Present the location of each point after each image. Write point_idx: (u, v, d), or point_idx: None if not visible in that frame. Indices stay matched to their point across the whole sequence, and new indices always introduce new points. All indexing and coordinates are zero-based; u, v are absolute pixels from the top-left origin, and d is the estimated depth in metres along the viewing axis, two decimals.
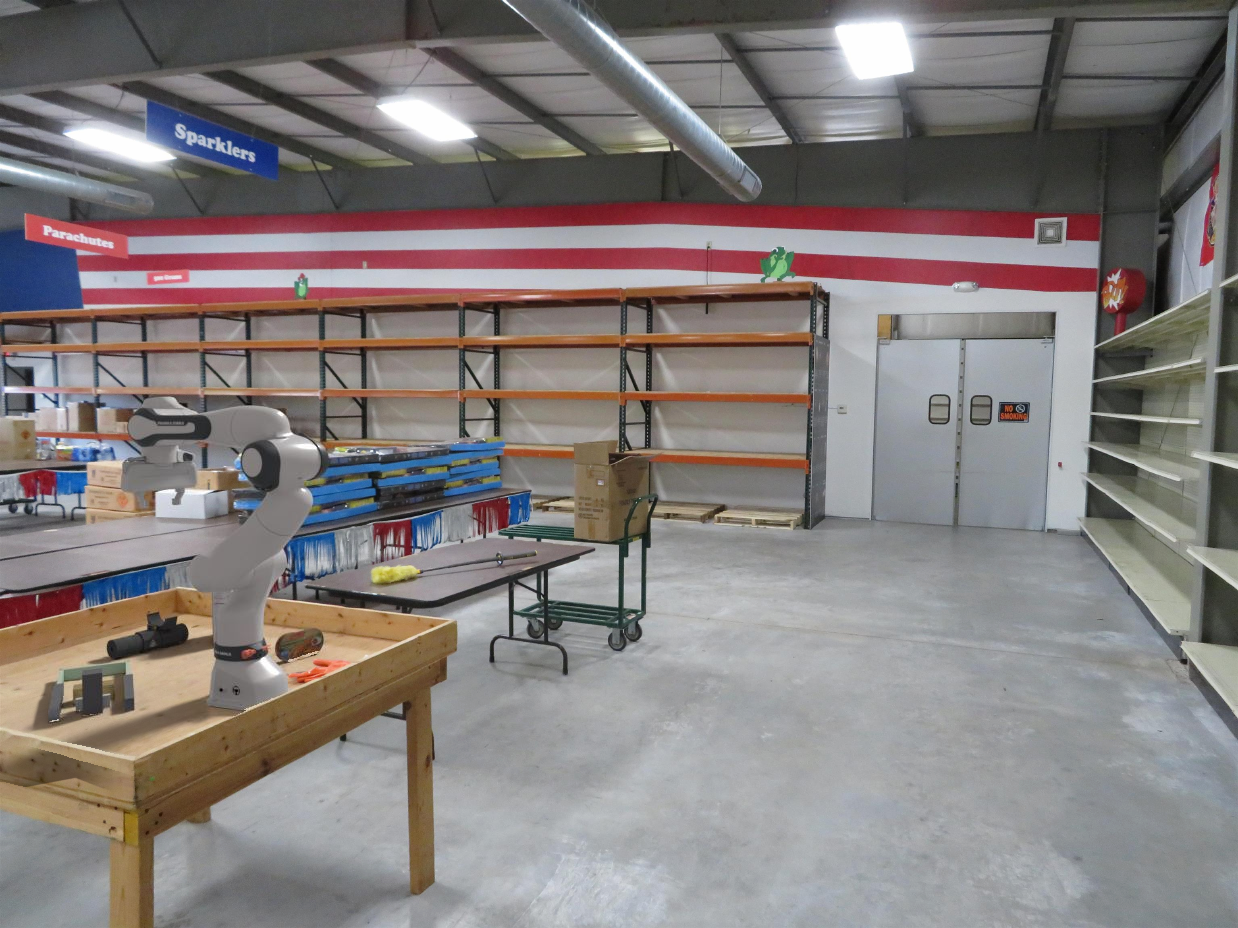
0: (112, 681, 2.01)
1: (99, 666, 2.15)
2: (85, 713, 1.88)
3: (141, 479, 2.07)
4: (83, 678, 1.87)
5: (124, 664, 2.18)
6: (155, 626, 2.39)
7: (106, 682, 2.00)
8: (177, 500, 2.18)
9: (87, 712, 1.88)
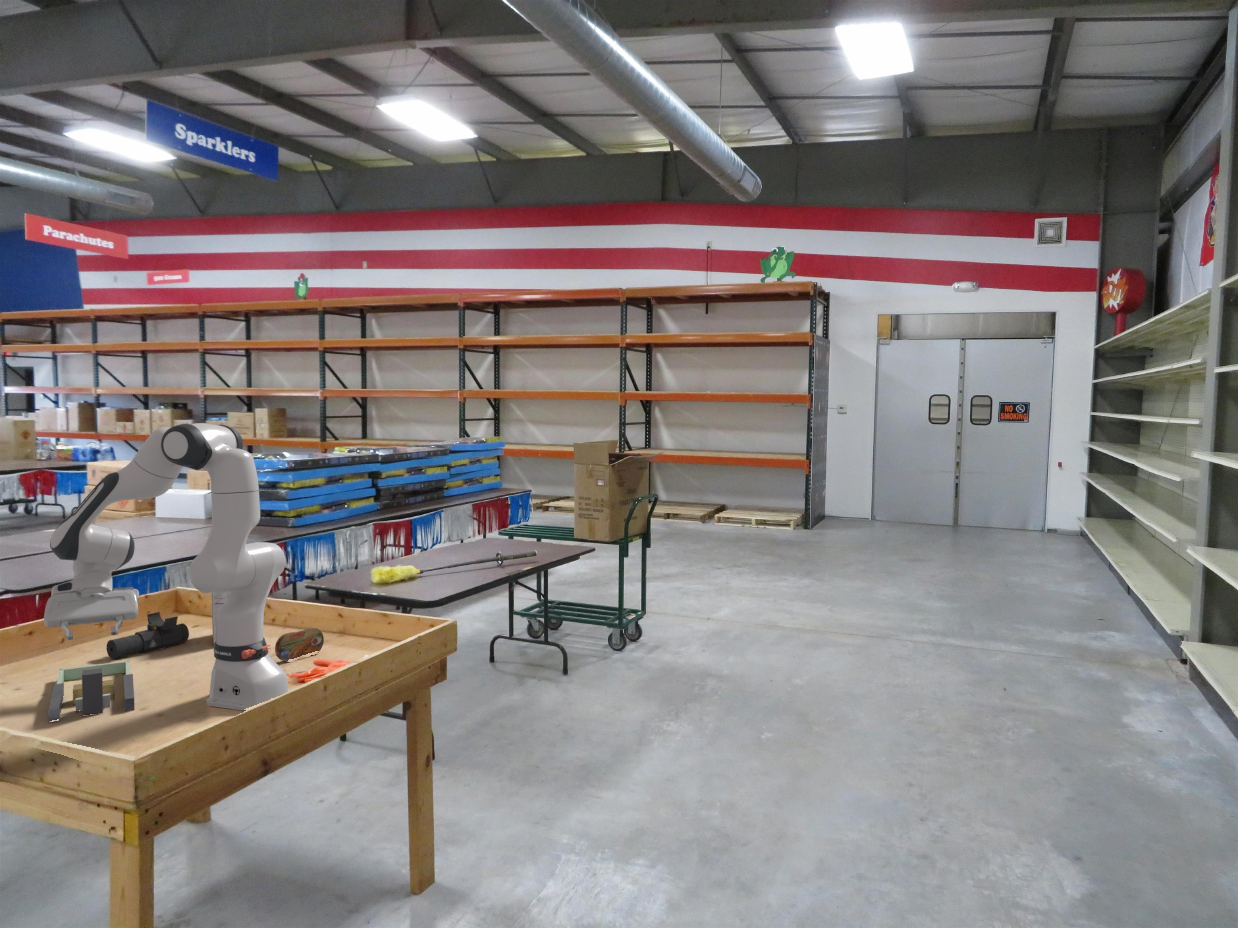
0: (112, 681, 2.01)
1: (99, 666, 2.15)
2: (85, 713, 1.88)
3: None
4: (83, 678, 1.87)
5: (124, 664, 2.18)
6: (155, 626, 2.39)
7: (106, 682, 2.00)
8: None
9: (87, 712, 1.88)
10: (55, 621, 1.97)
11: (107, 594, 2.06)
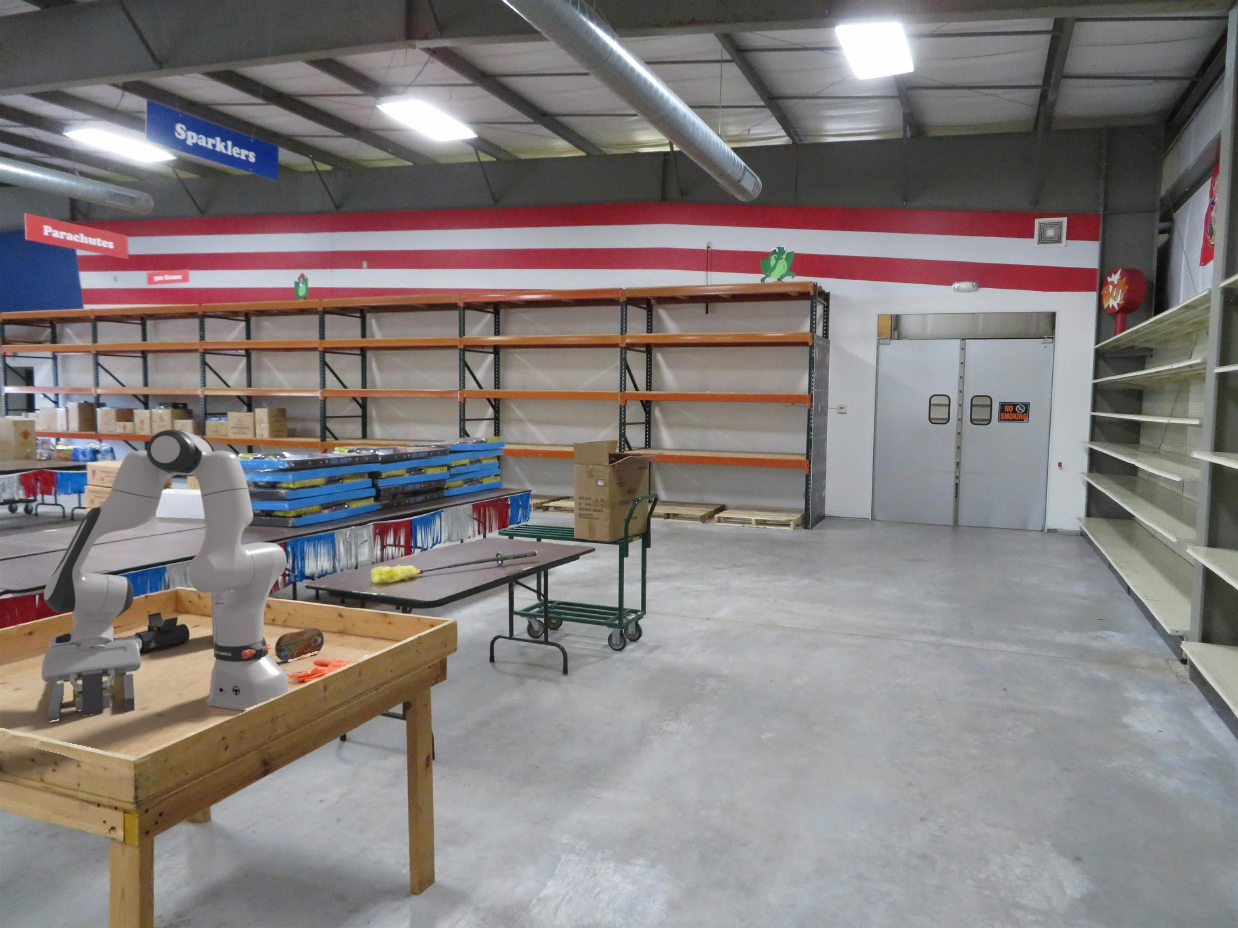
0: (112, 681, 2.01)
1: None
2: (85, 713, 1.88)
3: None
4: (83, 678, 1.87)
5: None
6: (155, 627, 2.38)
7: None
8: None
9: (87, 712, 1.88)
10: (53, 676, 1.87)
11: (108, 645, 1.96)
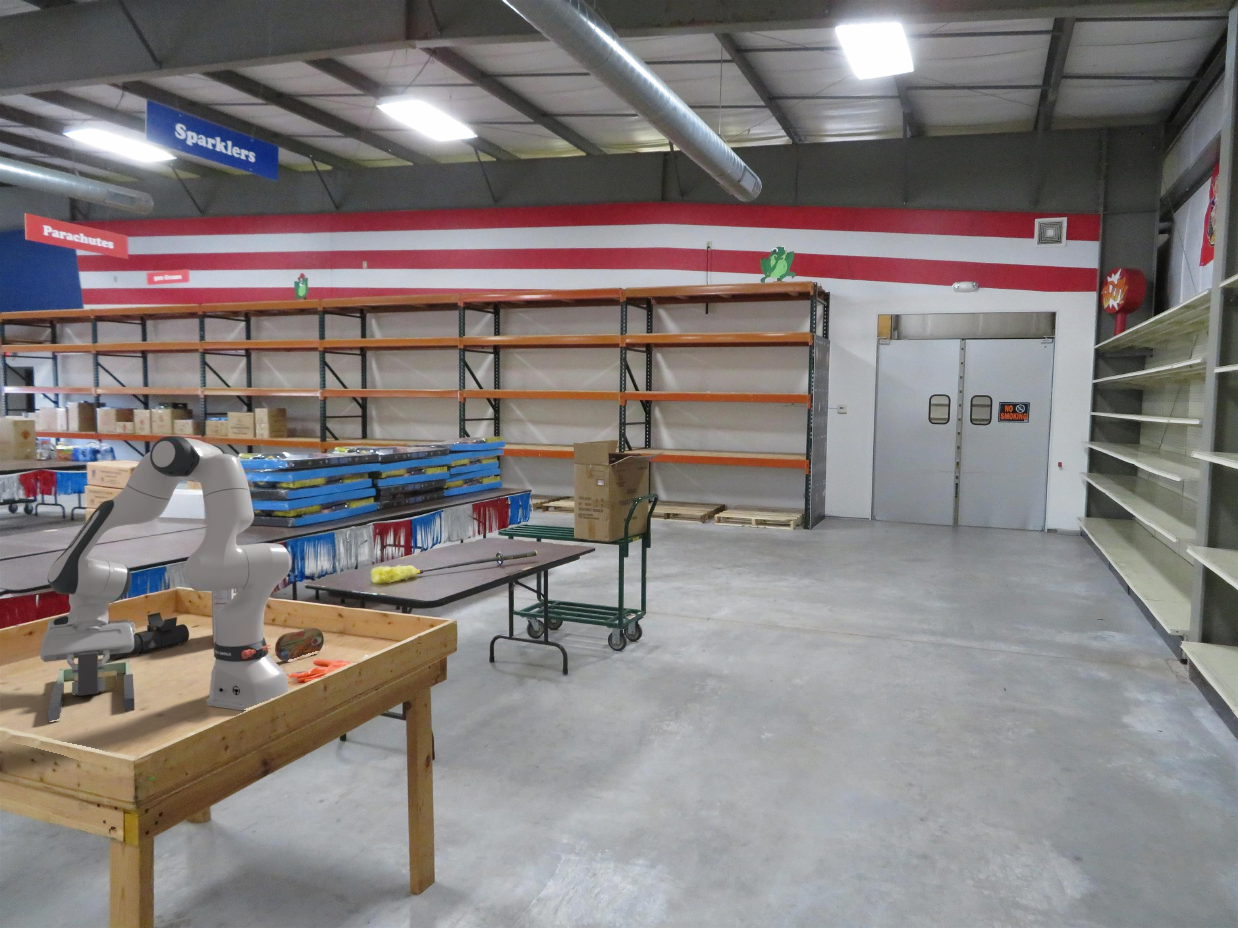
0: (115, 672, 2.07)
1: None
2: (81, 693, 1.97)
3: None
4: (79, 658, 1.97)
5: (124, 664, 2.18)
6: (155, 627, 2.38)
7: (109, 673, 2.06)
8: None
9: (83, 692, 1.97)
10: (51, 655, 1.98)
11: (103, 627, 2.07)
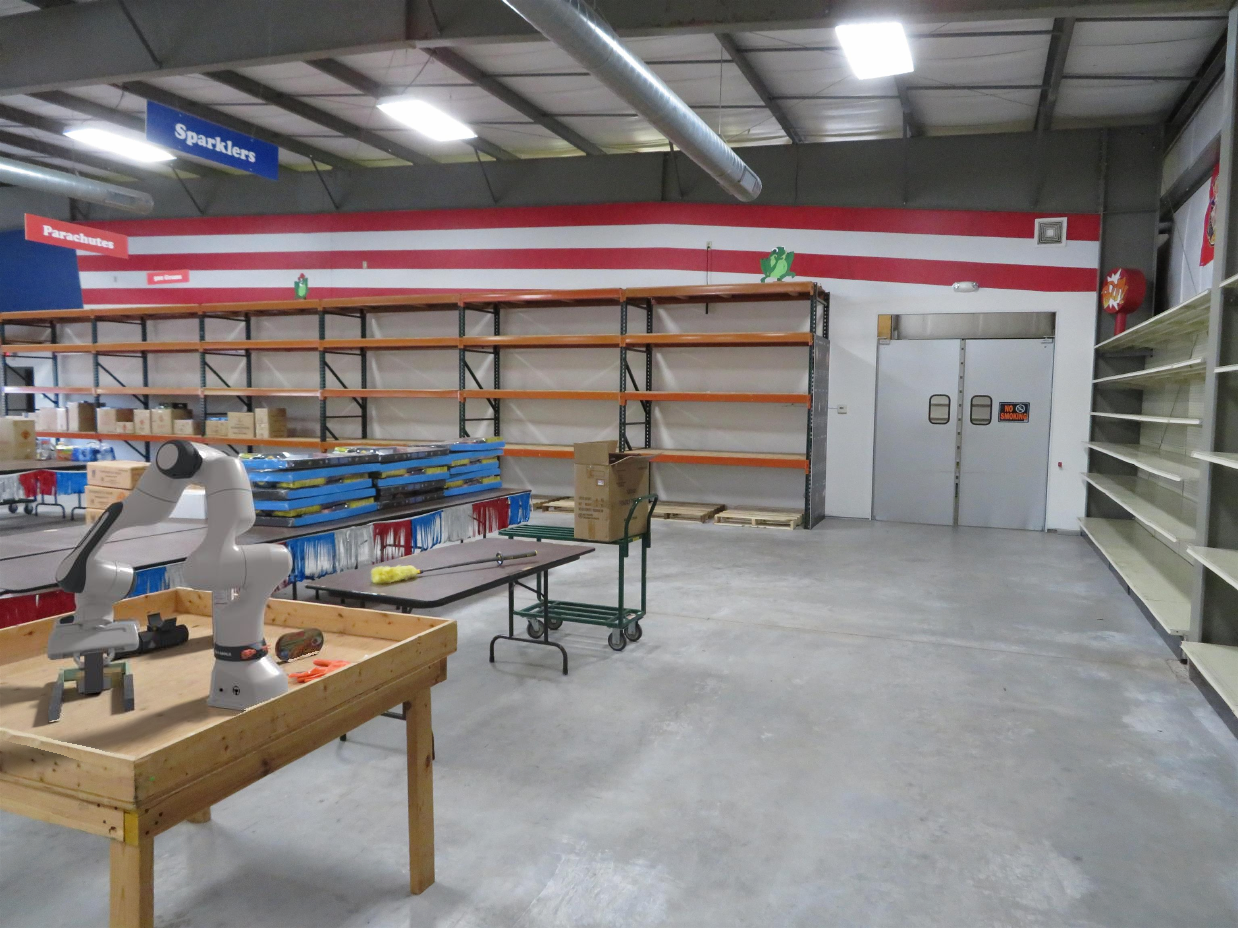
0: (119, 669, 2.10)
1: None
2: (87, 691, 2.00)
3: None
4: (85, 656, 2.00)
5: (124, 664, 2.18)
6: (154, 627, 2.38)
7: (113, 670, 2.09)
8: None
9: (89, 690, 2.00)
10: (58, 654, 2.02)
11: (108, 626, 2.11)
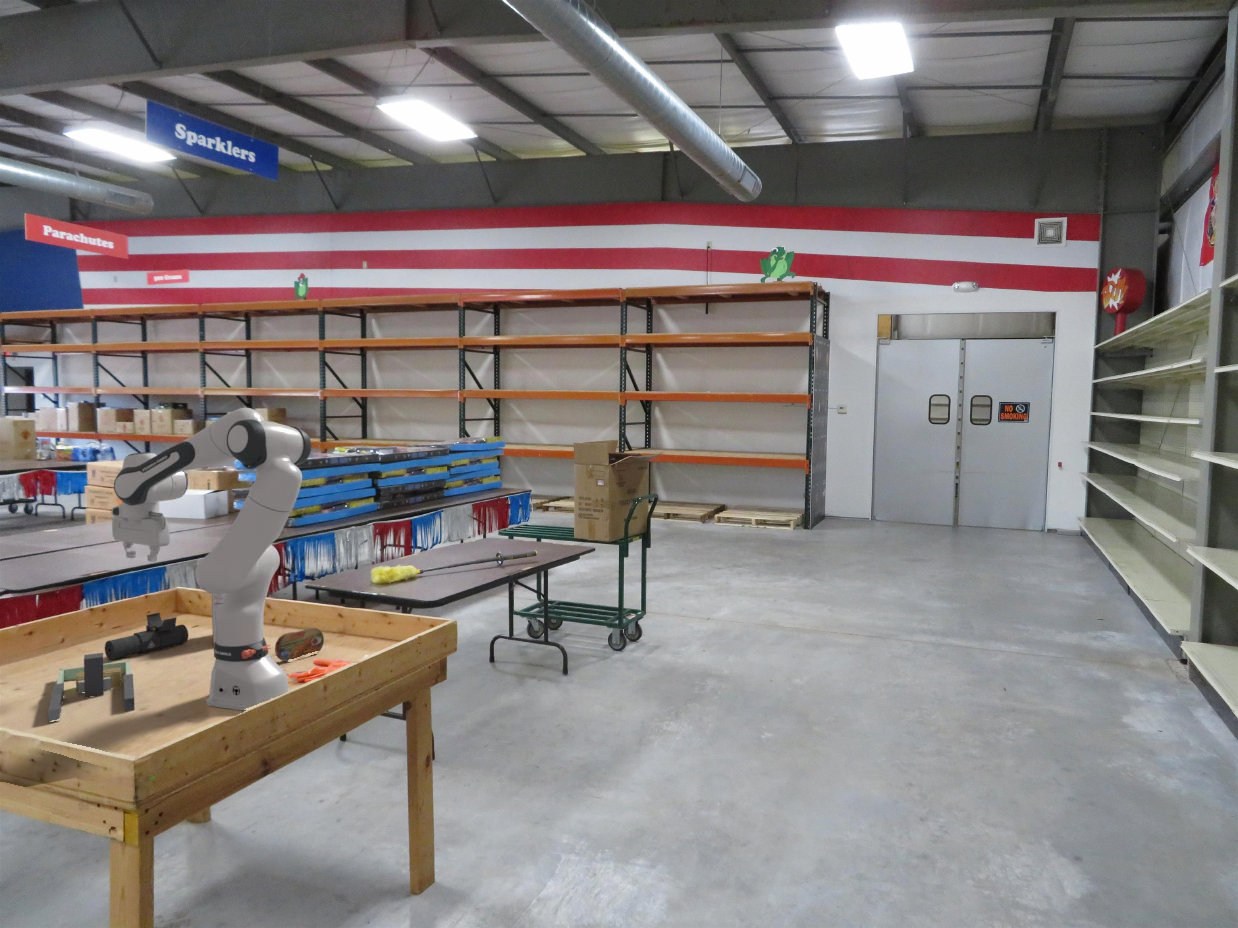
0: (119, 669, 2.10)
1: None
2: (87, 695, 2.00)
3: None
4: (85, 662, 1.99)
5: (124, 664, 2.18)
6: (154, 627, 2.38)
7: (113, 670, 2.09)
8: None
9: (89, 694, 2.00)
10: None
11: (142, 522, 2.16)
